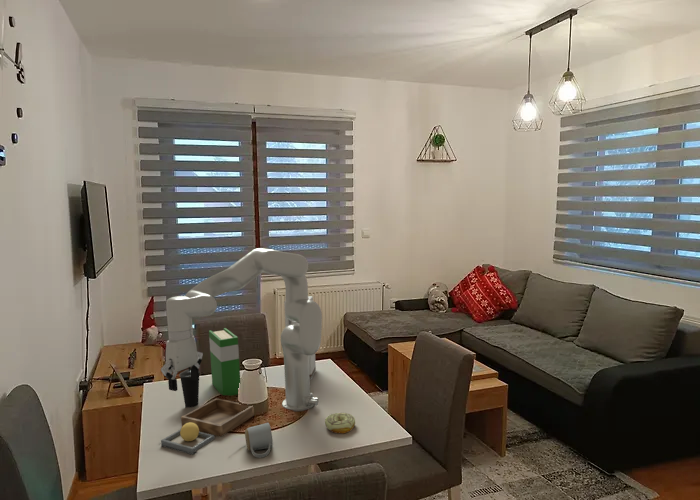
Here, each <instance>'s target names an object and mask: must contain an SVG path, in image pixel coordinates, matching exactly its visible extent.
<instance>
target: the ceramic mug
mask: <svg viewBox="0 0 700 500" xmlns="http://www.w3.org/2000/svg"><path fill="white" fill-rule="evenodd" d="M271 427H272V426H271V424H270V423H269V422H265V423H262V424H258V425H254V426H250V427H247V428H246V429H245V431H244V435H245V436H244V437H245V444H246V449H247V450H248V451H251V454H252V455H253V456H254V457H256V458H258V459H259V458H260V459H261V458H265V457H266V456H269V453H270V452H271V448H273V445H274V443H273V441H274V440H273V434H272V429H271ZM264 449H267V450H266V451H265V452H264V453H256V452H255V451H259V450H264Z"/></svg>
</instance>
